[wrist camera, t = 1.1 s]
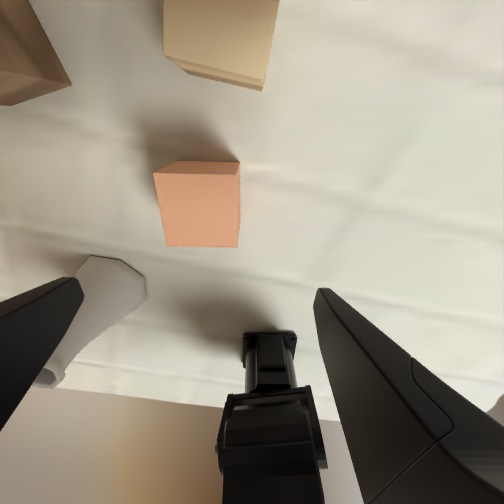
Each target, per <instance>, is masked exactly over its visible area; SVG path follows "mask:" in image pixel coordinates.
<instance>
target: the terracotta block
mask: <svg viewBox="0 0 504 504" xmlns="http://www.w3.org/2000/svg"><path fill="white" fill-rule="evenodd" d="M153 177H154V182H155V187H156V193H157V198H158V203H159V208H160V213H161V219H162V224H163V229H164V234H165V240H166V245H167V246H181V247H233V248H237V244H238V236H239V229H240V162H209V161H175V162H173V163H171V164H170V165H168V166H166V167H164V168H162V169H160V170H158V171H156V172H154V173H153Z"/></svg>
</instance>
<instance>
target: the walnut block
mask: <svg viewBox="0 0 504 504" xmlns="http://www.w3.org/2000/svg"><path fill="white" fill-rule="evenodd" d="M71 85H72V83H71V81H70V79H69V78H68V76H67V74H66V72H65V70H64V68H63V66H62V64H61V62H60V60H59V58H58V56H57V54H56V53H55V51H54V49H53V47H52V45H51V43H50V41H49V39H48V37H47V35H46V33H45V31H44V29H43V28H42V26H41V24H40V22H39V20H38V18H37V16H36V14H35V12H34V10H33V8H32V6H31V4H30V2H29V1H28V0H0V105H7V106H12V105H15V104H18V103H21V102H23V101H26V100H29V99H32V98H35V97H38V96H41V95H44V94H47V93H50V92H53V91H56V90H59V89H62V88H65V87H68V86H71Z"/></svg>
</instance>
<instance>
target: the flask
mask: <svg viewBox="0 0 504 504" xmlns="http://www.w3.org/2000/svg"><path fill="white" fill-rule="evenodd" d="M74 277H75V278H77V279H78V280H79V283H80V285H81V287H82V290H83V292H84V301H83V303H82V304H81V306H80V308H79V310H78V312H77V314H76V316H75V317H74V319H73V321H72V323H71V325H70V327H69V329H68V330H67V332H66V334H65V336H64V337H63V339H62V341H61V342H60V344H59V345H58V347H57V348H56V350H55V351H54V353H53V354H52V356H51V357H50V359H49V360H48V362H47V363H46V364H45V366H44V367H43V369H42V370H41V372H40V373H39V375H38V376H37V378H36V379H35V381H34V382H33V384H32V385H31V386H34V387H41V388H50V389H53V388H54V387H56V386H57V385H58V384H59V383H60V382H61V381H62V380H63V379H64V377H65V372H64V371H65V369H66V368H67V366H68V365H69V364H70V363H71V361H72V360H73V359H74V357H75V356H76V355H77V354H78V353H79V352H80V351H81V350H82V349H83V348H84V347H85V346H86V345H87V344H88V343H89V342H90V341H92V340H93V339H95V338H96V337H97V336H99V335H100V334H101V333H103V332H104V331H105V330H107V329H108V328H109V327H111V326H112V325H114V324H115V323H117V322H118V321H120V320H121V319H123V318H124V317H125V316H127V315H128V314H130V313H131V312H132V311H133V310H134V309H136V308H137V307H138V306H139V305H140V304H141V303H142V302H144V301H145V300H146V283H145V278H144V277H143V276H141V275H140V274H139V273H137V272H136V271H134V270H133V269H132V268H130V267H129V266H127V265H126V264H125V263H123V262H122V261H119V260H113V259H107V258H100V257H94V256H90V257H89V258H88V259H87V260H86V261H85V263H84V264H83V265H82V266H81V267H80V268H79V270H78V271H77V272H76V274H75V276H74Z"/></svg>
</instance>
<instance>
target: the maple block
mask: <svg viewBox="0 0 504 504" xmlns="http://www.w3.org/2000/svg"><path fill="white" fill-rule="evenodd" d="M278 5H279V0H163V55H164V56H165V57H167V58H168V59H169V60H171V61H172V62H173V63H175V64H176V65H177V66H179V67H180V68H181V69H183V70H184V71H185V72H187V73H188V74H191V75H195V76H199V77H203V78H207V79H212V80H216V81H220V82H224V83H228V84H232V85H236V86H241V87H245V88H249V89H253V90H257V91H261V92H262V89H263V85H264V81H265V76H266V71H267V65H268V60H269V54H270V49H271V43H272V38H273V32H274V27H275V21H276V16H277V10H278Z"/></svg>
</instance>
